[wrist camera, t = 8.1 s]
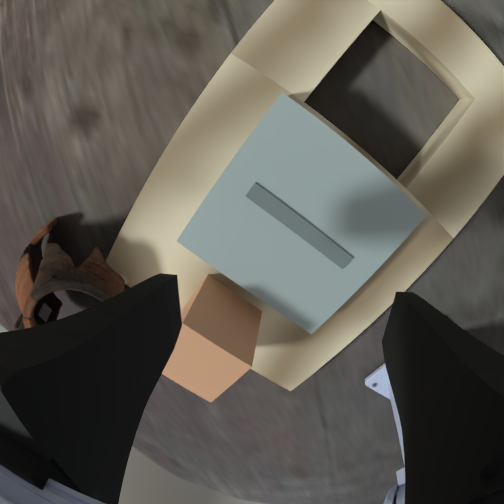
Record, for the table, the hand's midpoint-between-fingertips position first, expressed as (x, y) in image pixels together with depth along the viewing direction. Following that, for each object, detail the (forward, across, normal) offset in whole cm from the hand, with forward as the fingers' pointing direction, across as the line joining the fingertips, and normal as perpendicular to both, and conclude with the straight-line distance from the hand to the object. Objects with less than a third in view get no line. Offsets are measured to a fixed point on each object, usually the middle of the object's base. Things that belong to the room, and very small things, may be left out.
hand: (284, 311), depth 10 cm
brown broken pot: (+10, +16, +6) cm, 20 cm away
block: (+8, +4, +6) cm, 11 cm away
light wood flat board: (+10, -2, -3) cm, 10 cm away
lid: (+8, -1, -1) cm, 8 cm away
